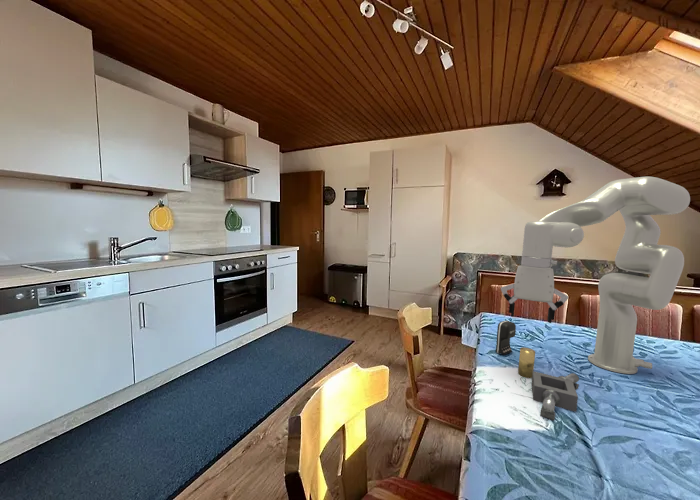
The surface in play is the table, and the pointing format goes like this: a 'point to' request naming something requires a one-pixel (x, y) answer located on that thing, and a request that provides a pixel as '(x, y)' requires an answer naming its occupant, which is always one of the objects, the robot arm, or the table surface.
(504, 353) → the battery charger
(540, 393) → the grey square frame
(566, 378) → the shaft
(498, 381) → the table surface
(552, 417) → the shaft
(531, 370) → the yellow cylinder
